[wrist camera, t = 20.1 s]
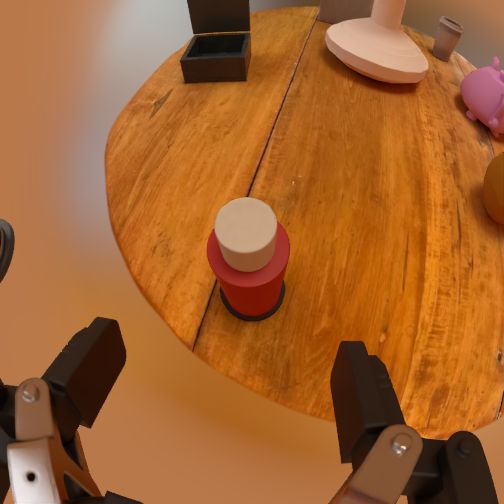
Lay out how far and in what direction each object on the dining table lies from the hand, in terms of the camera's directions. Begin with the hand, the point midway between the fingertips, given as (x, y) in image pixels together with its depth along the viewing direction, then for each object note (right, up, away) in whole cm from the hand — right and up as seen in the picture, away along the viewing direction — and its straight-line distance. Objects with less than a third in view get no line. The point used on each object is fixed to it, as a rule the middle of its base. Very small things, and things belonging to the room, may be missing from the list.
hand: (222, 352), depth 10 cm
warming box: (-5, +35, +33) cm, 48 cm away
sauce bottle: (+1, 0, +17) cm, 17 cm away
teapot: (+48, +31, +29) cm, 64 cm away
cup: (+48, +53, +38) cm, 81 cm away
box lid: (-4, +44, +24) cm, 50 cm away
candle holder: (+24, +39, +33) cm, 57 cm away
